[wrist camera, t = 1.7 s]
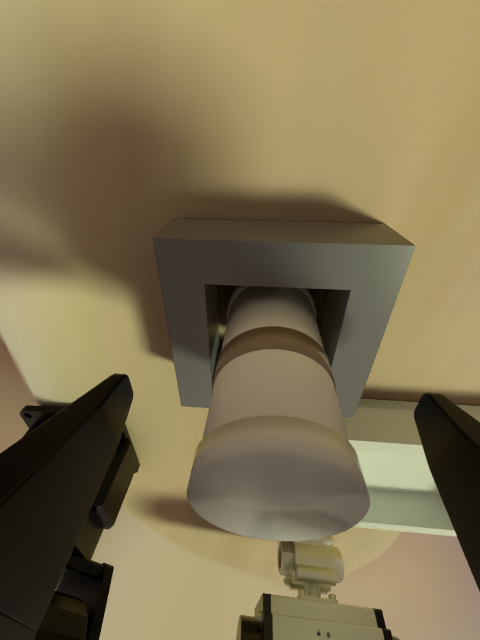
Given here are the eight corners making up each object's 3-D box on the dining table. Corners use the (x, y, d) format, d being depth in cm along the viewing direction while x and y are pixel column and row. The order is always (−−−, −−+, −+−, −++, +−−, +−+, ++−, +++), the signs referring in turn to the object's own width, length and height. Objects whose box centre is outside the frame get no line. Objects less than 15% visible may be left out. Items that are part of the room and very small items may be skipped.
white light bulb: (229, 340, 14) (194, 533, 7) (228, 268, 12) (176, 445, 5) (307, 344, 13) (346, 547, 7) (320, 272, 11) (396, 463, 5)
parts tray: (310, 482, 20) (316, 523, 18) (335, 396, 15) (346, 439, 13) (456, 494, 20) (479, 538, 18) (532, 409, 15) (578, 456, 12)
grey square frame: (193, 368, 15) (181, 406, 13) (175, 218, 11) (153, 238, 9) (340, 377, 14) (353, 417, 12) (384, 223, 10) (415, 245, 8)
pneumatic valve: (361, 554, 27) (417, 800, 17) (241, 538, 27) (227, 773, 17) (383, 531, 24) (467, 815, 14) (248, 513, 24) (235, 781, 14)
